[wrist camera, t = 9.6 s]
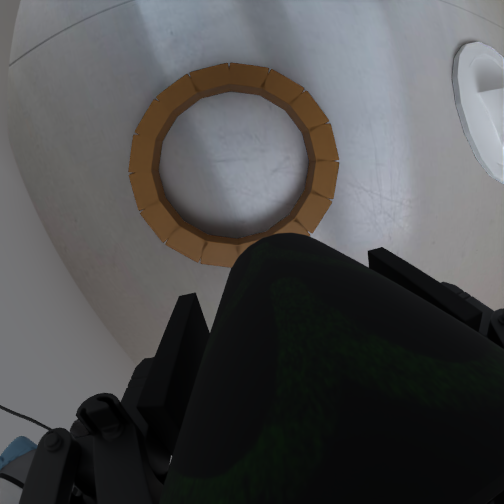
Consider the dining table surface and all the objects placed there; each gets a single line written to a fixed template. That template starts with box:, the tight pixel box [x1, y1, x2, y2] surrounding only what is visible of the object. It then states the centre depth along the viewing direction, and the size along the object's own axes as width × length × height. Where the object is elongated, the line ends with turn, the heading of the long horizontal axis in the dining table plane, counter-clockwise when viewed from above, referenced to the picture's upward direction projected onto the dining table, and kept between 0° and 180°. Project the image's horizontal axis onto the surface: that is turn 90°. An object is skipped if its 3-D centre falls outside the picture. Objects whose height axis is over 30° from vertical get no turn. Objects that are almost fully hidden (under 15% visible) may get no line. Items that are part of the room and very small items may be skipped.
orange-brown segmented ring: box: [128, 63, 339, 268], centre depth 28 cm, size 21×21×3 cm
